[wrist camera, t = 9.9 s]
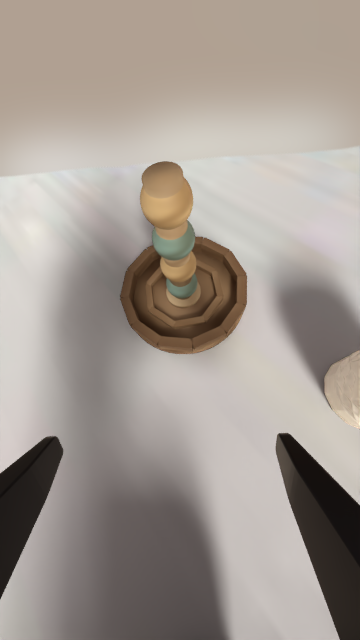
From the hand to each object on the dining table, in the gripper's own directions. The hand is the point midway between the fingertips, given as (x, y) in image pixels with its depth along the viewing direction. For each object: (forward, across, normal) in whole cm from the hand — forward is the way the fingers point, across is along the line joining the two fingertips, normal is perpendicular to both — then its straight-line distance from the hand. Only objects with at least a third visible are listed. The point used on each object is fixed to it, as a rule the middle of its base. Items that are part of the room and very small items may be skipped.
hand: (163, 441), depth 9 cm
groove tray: (+19, 0, 0) cm, 19 cm away
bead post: (+19, 0, -1) cm, 19 cm away
